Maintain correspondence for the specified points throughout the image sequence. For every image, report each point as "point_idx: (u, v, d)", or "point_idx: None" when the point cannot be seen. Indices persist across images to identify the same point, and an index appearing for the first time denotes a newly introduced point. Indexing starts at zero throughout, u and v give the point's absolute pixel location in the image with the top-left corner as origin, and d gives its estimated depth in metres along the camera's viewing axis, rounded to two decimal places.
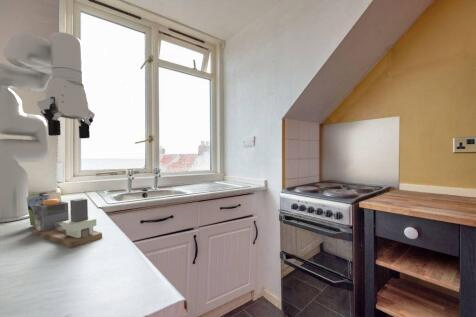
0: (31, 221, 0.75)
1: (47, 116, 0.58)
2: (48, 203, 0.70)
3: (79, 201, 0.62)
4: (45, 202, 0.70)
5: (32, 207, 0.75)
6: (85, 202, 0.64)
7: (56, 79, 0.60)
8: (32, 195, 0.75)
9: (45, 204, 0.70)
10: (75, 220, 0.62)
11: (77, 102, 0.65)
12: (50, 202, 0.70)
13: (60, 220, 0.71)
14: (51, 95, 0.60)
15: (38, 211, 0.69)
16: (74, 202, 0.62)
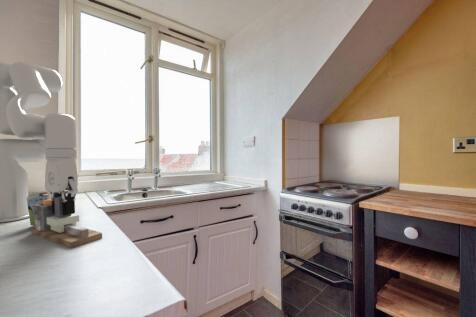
0: (31, 221, 0.75)
1: (71, 198, 0.66)
2: (48, 203, 0.70)
3: (62, 198, 0.67)
4: (45, 202, 0.70)
5: (32, 207, 0.75)
6: None
7: (71, 160, 0.66)
8: (32, 195, 0.75)
9: (45, 204, 0.70)
10: (58, 216, 0.66)
11: None
12: (50, 202, 0.70)
13: None
14: (69, 175, 0.65)
15: (38, 211, 0.69)
16: (58, 199, 0.66)
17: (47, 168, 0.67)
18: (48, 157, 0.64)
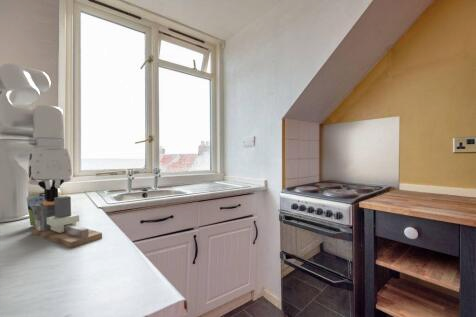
0: (31, 221, 0.75)
1: None
2: (48, 204, 0.70)
3: (62, 198, 0.67)
4: (45, 203, 0.70)
5: (32, 207, 0.75)
6: (68, 199, 0.68)
7: None
8: (32, 195, 0.75)
9: (45, 205, 0.70)
10: (58, 216, 0.66)
11: None
12: (50, 203, 0.70)
13: None
14: None
15: (38, 211, 0.69)
16: (58, 199, 0.66)
17: (44, 157, 0.68)
18: (58, 146, 0.70)
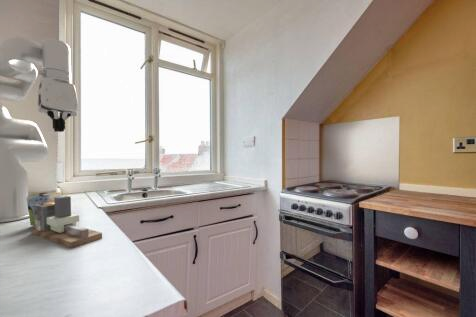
0: (31, 221, 0.75)
1: None
2: None
3: (62, 198, 0.67)
4: None
5: (32, 207, 0.75)
6: (68, 199, 0.68)
7: None
8: (32, 195, 0.75)
9: None
10: (58, 216, 0.66)
11: None
12: None
13: None
14: None
15: (38, 211, 0.69)
16: (58, 199, 0.66)
17: (53, 86, 0.72)
18: (65, 79, 0.75)
